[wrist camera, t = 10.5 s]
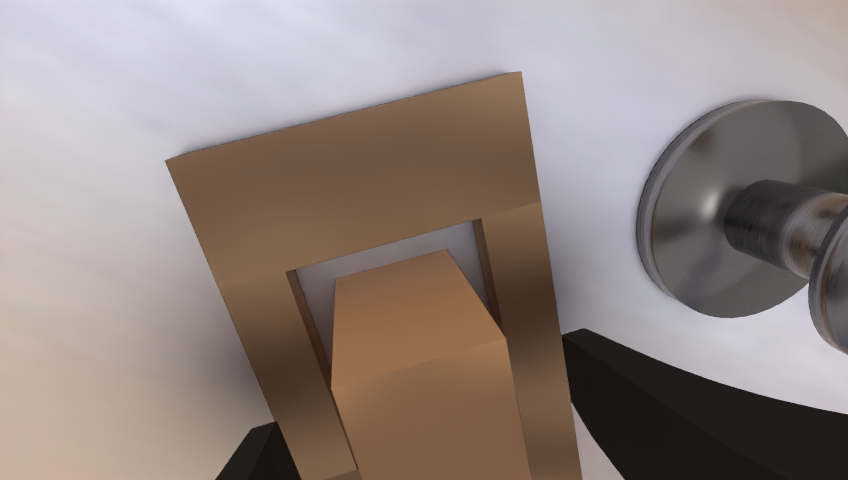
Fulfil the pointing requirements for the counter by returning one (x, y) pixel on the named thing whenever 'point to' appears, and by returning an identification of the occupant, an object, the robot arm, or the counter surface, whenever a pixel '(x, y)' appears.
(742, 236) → the bobbin
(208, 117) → the counter surface
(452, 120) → the board
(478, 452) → the block
